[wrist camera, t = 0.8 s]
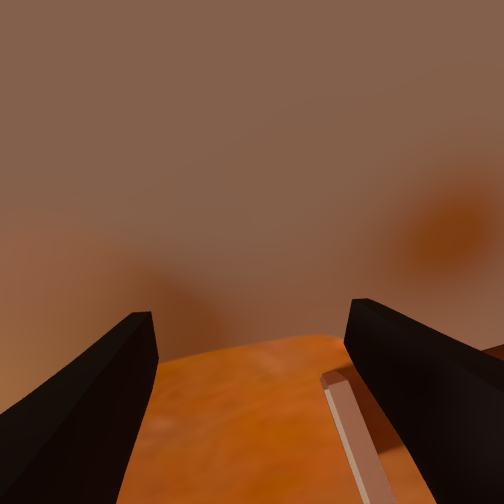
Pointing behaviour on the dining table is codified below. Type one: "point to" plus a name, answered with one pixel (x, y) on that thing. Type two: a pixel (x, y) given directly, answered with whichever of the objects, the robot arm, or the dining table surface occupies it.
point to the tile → (356, 440)
